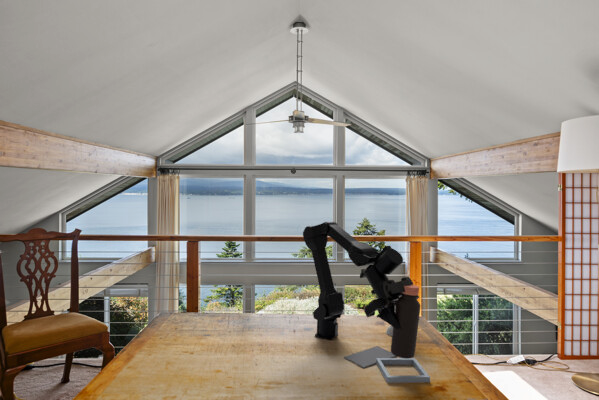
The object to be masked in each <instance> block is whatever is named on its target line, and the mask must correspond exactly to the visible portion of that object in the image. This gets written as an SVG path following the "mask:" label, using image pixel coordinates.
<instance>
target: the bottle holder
mask: <svg viewBox="0 0 599 400" xmlns="http://www.w3.org/2000/svg"><path fill="white" fill-rule="evenodd" d="M375 365H376V366H377V367H378V369H379V372H381V374H382V376H383V378H384V379H385V381H386V383H388V384H390V383H391V384H394V383H400V384H401V383H431V376H430V375H429V374H428V373H427V371H426V370H425V369H424V367H423V366H422V365H421V363H420V362H419V361H418V360H417V358H415V357H413V358H401V357H398V358H397V357H394V358H376V364H375ZM385 365H413V367H414V368H415V370H416V371H417V372H418V375H417V374H416V375H390V374H389V371H388V370H387V368H386V367H385Z"/></svg>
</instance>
